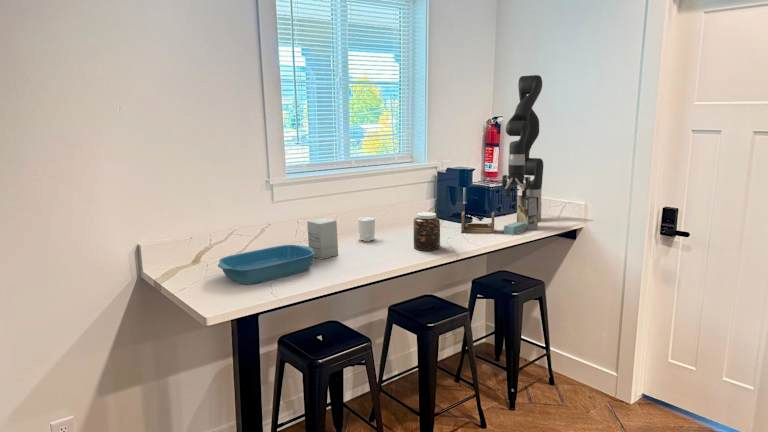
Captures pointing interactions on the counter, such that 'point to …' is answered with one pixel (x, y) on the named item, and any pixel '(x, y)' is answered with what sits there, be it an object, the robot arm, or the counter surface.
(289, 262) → the casserole dish
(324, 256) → the supplement box
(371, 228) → the white cup
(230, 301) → the counter surface
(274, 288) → the counter surface
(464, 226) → the shelf rack
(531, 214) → the coffee box
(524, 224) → the light teal block
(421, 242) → the jar
